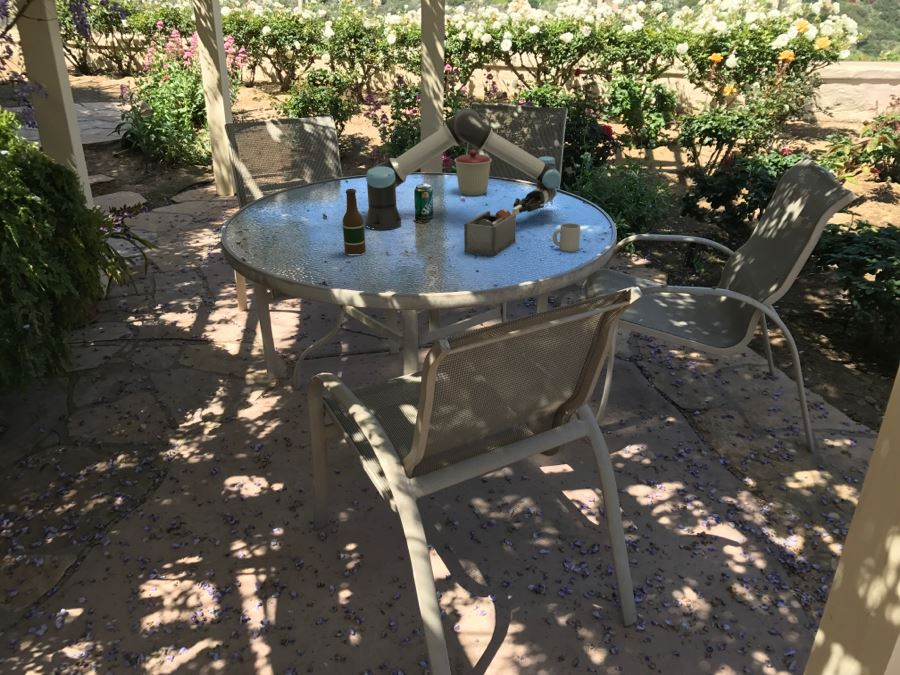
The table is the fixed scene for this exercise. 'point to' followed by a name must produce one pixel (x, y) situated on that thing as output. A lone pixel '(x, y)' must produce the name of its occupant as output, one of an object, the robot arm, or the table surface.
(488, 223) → the plunger
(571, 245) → the cup
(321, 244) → the table surface
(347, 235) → the beer bottle
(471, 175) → the canister
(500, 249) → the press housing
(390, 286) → the table surface
